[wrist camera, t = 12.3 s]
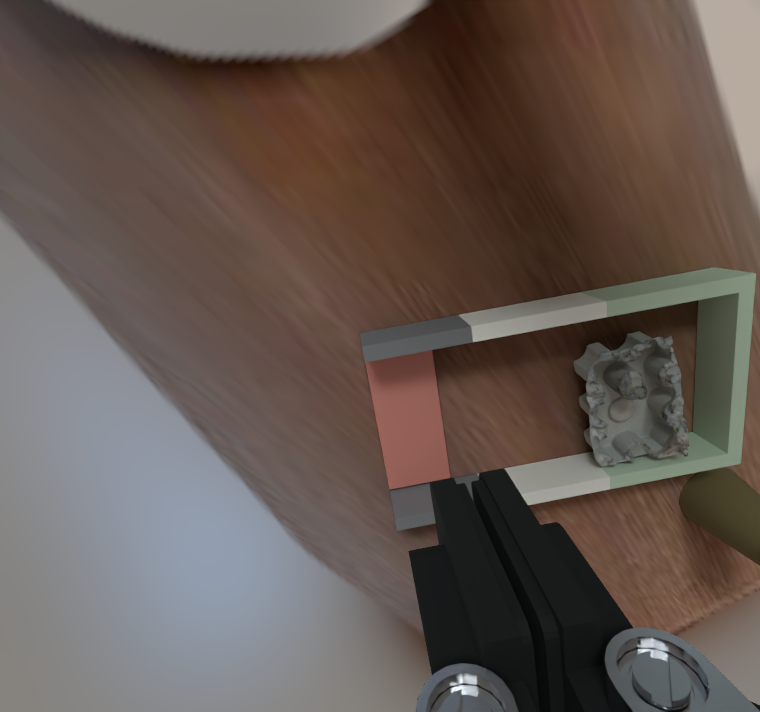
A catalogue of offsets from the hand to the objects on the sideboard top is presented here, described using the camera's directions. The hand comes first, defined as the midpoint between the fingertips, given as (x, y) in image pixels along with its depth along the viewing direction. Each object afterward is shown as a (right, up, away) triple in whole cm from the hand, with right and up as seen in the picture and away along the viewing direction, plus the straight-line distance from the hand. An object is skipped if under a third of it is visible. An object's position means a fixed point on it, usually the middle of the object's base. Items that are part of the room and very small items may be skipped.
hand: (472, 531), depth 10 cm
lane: (+11, +1, +29) cm, 31 cm away
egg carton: (+20, +3, +30) cm, 36 cm away
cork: (+30, -9, +34) cm, 46 cm away
